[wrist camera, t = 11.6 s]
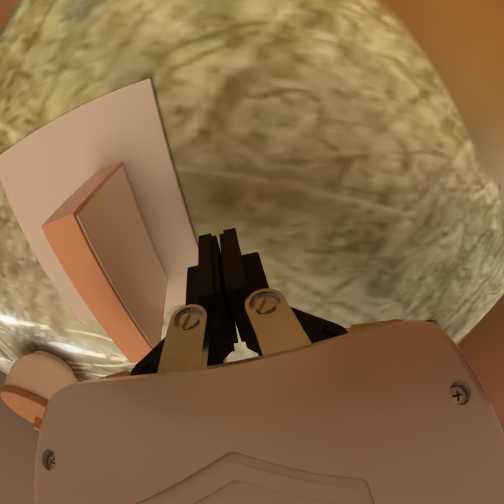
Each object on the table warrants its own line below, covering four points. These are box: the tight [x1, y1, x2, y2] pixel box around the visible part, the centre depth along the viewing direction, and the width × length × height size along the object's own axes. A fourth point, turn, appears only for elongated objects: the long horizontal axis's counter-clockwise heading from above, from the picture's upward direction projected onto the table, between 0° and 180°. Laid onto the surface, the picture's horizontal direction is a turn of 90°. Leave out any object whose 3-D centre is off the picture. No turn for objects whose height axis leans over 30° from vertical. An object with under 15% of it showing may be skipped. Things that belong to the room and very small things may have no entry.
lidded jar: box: [0, 350, 78, 431], centre depth 21 cm, size 11×11×9 cm
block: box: [41, 162, 168, 363], centre depth 14 cm, size 9×2×7 cm, turn 9°
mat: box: [0, 78, 198, 323], centre depth 16 cm, size 16×13×1 cm
